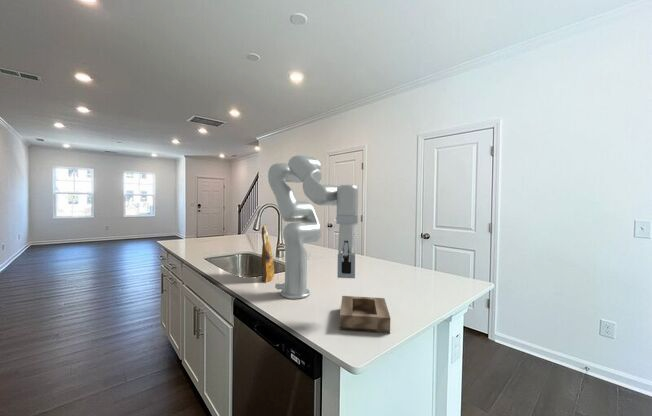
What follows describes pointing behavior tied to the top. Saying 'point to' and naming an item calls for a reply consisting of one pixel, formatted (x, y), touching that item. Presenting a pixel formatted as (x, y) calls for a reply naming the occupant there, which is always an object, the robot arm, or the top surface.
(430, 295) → the top surface
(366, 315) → the walnut well
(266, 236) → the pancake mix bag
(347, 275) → the tall blue-grey block
